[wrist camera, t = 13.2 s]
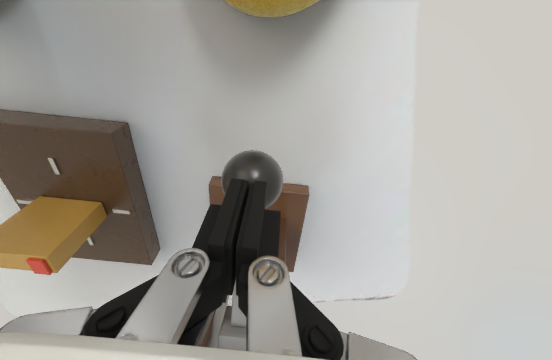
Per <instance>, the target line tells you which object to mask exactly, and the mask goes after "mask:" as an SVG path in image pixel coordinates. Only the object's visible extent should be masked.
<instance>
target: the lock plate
mask: <svg viewBox="0 0 552 360" xmlns="http://www.w3.org/2000/svg"><path fill="white" fill-rule="evenodd" d="M0 178H1V179H2V181H3V183H4V184H5V186H6V187H7V189H8V190H9V192H10V193H11V195H12V197H13V198H14V200H15V201H16V203H17V204H18V206H19V208H20V209H23V208H24V207H26V206H27V205H28V204H30V203H31V202H32V201H34V200H35V199H36V198H38V197H39V196H44V197H54V198H64V199H74V200H84V201H94V202H102V205H103V207H104V210H105V212H106V215H107V217H106V219H105V220H104V221H103V222H102V223H101V224H100V225H99V226H98V228H97V229H96V230H95V231H94V232H93V233H92V234H91V235H90V237H89V238H88V239H87V240H86V241H85V242H84V243H83V244H82V245H81V247H80V248H79V249H78V250H77V251H76V252H75V253H74V254H73V256H72V257H74V258H84V259H94V260H105V261H115V262H125V263H135V264H145V265H152V263H153V262H154V260H155V258H156V256H157V254H158V252H159V251H160V247H159V243H158V239H157V236H156V232H155V228H154V224H153V220H152V216H151V212H150V208H149V205H148V201H147V197H146V193H145V189H144V185H143V181H142V178H141V174H140V170H139V166H138V162H137V158H136V154H135V151H134V147H133V143H132V139H131V135H130V131H129V127H128V124H127V123H124V122H114V121H105V120H95V119H85V118H75V117H65V116H56V115H46V114H36V113H26V112H17V111H7V110H0Z"/></svg>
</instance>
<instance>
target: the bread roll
mask: <svg viewBox="0 0 552 360" xmlns="http://www.w3.org/2000/svg"><path fill="white" fill-rule="evenodd" d="M223 1H225V2H226V3H227V4H228V5H230V6H232V7H234V8H235V9H237V10H239V11H241V12H243V13H246V14H248V15H253V16H257V17H283V16H288V15H291V14H294V13H297V12H300V11H302V10H304V9H306V8H308V7H309V6H311V5H313V4H315V3H317V2H318V1H319V0H223Z"/></svg>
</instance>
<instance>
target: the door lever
mask: <svg viewBox="0 0 552 360" xmlns="http://www.w3.org/2000/svg"><path fill="white" fill-rule="evenodd" d="M231 178H236V179H243V180H244V182H245V183H248V191H247V198H248V193H249V189H250V185H251V183H255V182H256V181H265V182H267V194H266V206H265V209H266V208H268V207H270V206H271V205H272V204H273V203H275V201H276V200H277V199H278V197H279V196H280V194H281V191H282V187H283V175H282V171H281V169H280V167H279V165H278V163H277V162H276V161H275V160H274V159H273V158H272V157H271V156H269V155H268V154H266V153H264V152H260V151H254V150H250V151H244V152H241V153H239V154H237V155H235V156H234V157H233V158H231V159H230V160H229V162H228V163H227V164H226V166H225V168H224V170H223V173H222V180H221V183H222V189H223V192H224V194H226V191H227V188H228V186H229V183H230V180H231ZM218 348H219V349H229V350H239V351H246V317H245V315H244V314H243V313H242V311H241V310H240V309H239V307H238V296H236V280H235V285H234V290H233V300H232V306H227V307H226V311H225V314H224V318H223V321H222V325H221V328H220V331H219V335H218Z"/></svg>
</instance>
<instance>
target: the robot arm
mask: <svg viewBox="0 0 552 360" xmlns="http://www.w3.org/2000/svg"><path fill="white" fill-rule="evenodd" d="M247 191H248V183H245V182H244V180H243V179H236V178H231V180H230V183H229V186H228V188H227V191H226V194H225V197H224V199H223V202H222V205H216V204H211V205H210V207H209V209H208V211H207V214H206V216H205V218H204V221H203V223H202V225H201V228H200V230H199V233H198V235H197V237H196V240H195V242H194V244H193V247H192V248H188V249H184V250H181V251H179V252H178V253H176V254H175V255H173V256H172V258H171V259H170V260H169V261H168V263H167V264H166V266H165V267H164V268H163V270H162V271H161V273H160V274H159V275H158V276H156V277H154V278H152V279H150V280H148V281H147V282H145V283H143V284H141V285H139V286H137V287H135V288H133V289H132V290H130V291H128V292H126V293H124V294H122V295H120V296H118V297H117V298H115V299H113V300H111V301H109V302H107V303H106V304H104V305H103V306H101V307H100V308H98V309H93V308H92V307H84V308H76V309H68V310H60V311H52V312H43V313H35V314H28V315H24V316H20V317H18V318H16V319H14V320H12V321H10V322H8V323H7V324H6V325H4V326H3V327H2V328H0V360H417V359H416V358H415V357H414V356H413V355H411V354H409V353H408V352H406V351H403V350H400V349H397V348H395V347H392V346H389V345H386V344H383V343H380V342H377V341H374V340H372V339H369V338H366V337H363V336H360V335H357V334H354V333H351V332H349V333H348V334H346V333H343V332H340V331H338V329H337V328H336V327H335V326H334V324H333V323H332V322H330V320H329V319H328V318H326V317H325V316H324V314H322V312H320V311H319V310H318V309H317V308H316V307H315V306H314V305H313V304H312V303H311V302H310V301H309V300H308V299H307V298H306V297H305V296H304V295H303V294H302V293H301V292H300V291H299V290H298V289H297V288H296V287H295V286H294V285H293V284H292V283H291V282H290V277H289V271H288V268H287V266H286V264H285V263H284V262H283V261H282V260H280V259H279V258H278V255H279V236H280V217H281V211H276V210H266V209H265V206H266V194H267V182H265V181H256V182H255V183H251V185H250V189H249V193H248V198H247ZM235 280H236V296H238V307H239V309H240V310H241V311H242V313H243V314H244V315H245V317H246V351H239V350H229V349H219V348H209V347H201V344H202V342H203V339H204V337H205V334H206V332H207V330H208V327H209V325H210V322H211V320H212V317H213V314H214V311H215V310H216V309H217V308H219V307H220V306H222V303H226V300H227V296H228V295H232V294H233V290H234V285H235Z"/></svg>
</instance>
